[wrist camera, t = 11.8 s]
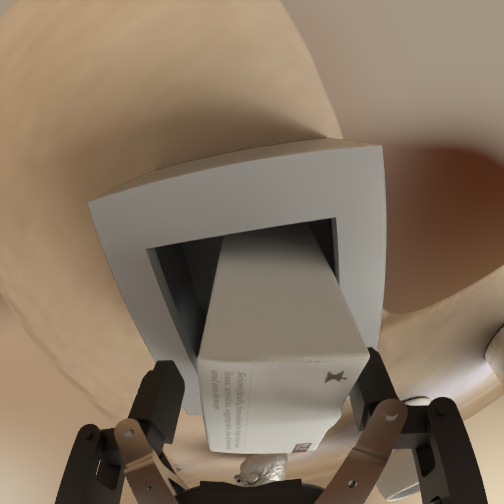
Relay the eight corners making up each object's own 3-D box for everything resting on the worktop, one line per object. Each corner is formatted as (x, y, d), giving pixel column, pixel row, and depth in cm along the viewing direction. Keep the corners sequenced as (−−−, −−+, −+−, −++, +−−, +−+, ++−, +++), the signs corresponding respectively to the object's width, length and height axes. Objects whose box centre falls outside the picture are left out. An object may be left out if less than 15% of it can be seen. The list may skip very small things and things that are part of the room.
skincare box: (229, 206, 21) (181, 345, 8) (308, 211, 21) (380, 351, 8) (226, 298, 25) (201, 455, 11) (294, 302, 25) (318, 458, 11)
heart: (264, 464, 42) (273, 513, 31) (224, 454, 40) (227, 507, 29) (300, 441, 41) (315, 493, 29) (259, 429, 38) (269, 489, 27)
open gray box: (328, 137, 20) (381, 145, 10) (341, 316, 26) (368, 394, 17) (154, 170, 21) (87, 202, 12) (205, 335, 28) (187, 414, 19)
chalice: (429, 418, 38) (451, 477, 24) (363, 443, 40) (377, 508, 26) (441, 380, 32) (475, 453, 19) (361, 412, 34) (381, 495, 21)
